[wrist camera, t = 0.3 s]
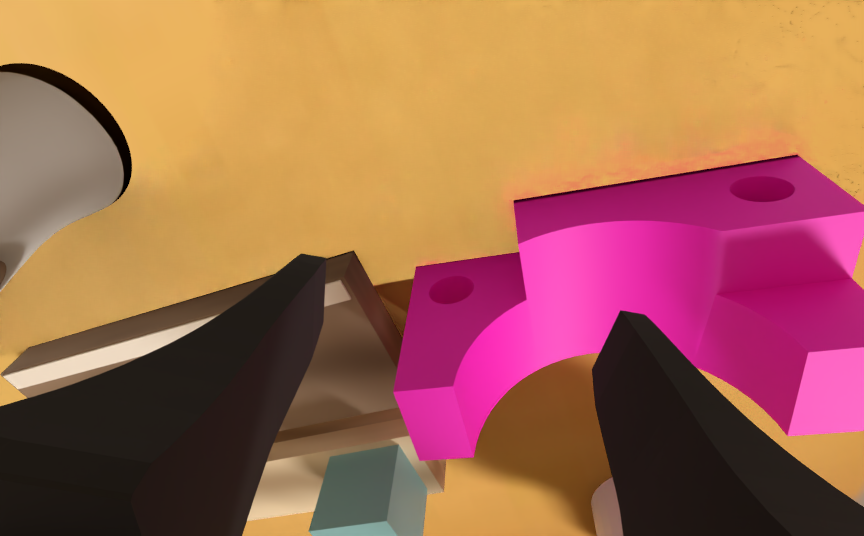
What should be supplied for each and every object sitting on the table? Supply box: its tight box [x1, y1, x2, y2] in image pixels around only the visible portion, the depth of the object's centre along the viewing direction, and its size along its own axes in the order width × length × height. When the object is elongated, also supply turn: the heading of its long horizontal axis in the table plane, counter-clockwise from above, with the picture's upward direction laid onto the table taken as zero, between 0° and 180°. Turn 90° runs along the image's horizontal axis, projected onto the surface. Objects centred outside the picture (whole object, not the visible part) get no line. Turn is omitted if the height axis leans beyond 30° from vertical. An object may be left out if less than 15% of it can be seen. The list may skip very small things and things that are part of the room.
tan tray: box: [247, 407, 446, 521], centre depth 30 cm, size 5×18×3 cm, turn 111°
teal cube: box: [309, 444, 427, 536], centre depth 26 cm, size 4×4×4 cm
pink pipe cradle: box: [393, 155, 864, 461], centre depth 19 cm, size 15×6×8 cm, turn 103°
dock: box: [0, 251, 403, 431], centre depth 26 cm, size 8×20×2 cm, turn 111°
